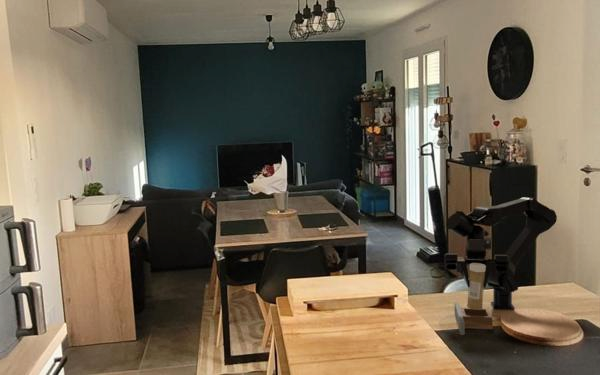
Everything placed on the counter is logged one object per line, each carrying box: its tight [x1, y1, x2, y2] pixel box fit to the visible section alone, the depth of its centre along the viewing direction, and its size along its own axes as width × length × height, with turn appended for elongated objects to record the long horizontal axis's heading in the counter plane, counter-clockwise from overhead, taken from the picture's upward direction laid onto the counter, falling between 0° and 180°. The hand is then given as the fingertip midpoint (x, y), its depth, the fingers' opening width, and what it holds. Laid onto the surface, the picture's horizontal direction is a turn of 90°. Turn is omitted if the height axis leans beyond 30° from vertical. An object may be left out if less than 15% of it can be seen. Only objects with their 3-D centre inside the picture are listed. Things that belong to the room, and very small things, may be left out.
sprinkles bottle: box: [466, 263, 486, 310], centre depth 164 cm, size 5×5×13 cm
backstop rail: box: [454, 301, 466, 336], centre depth 166 cm, size 20×1×4 cm, turn 169°
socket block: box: [460, 307, 494, 330], centre depth 165 cm, size 8×8×4 cm
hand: (476, 286), depth 163 cm, fingers closed on sprinkles bottle, 4 cm apart
